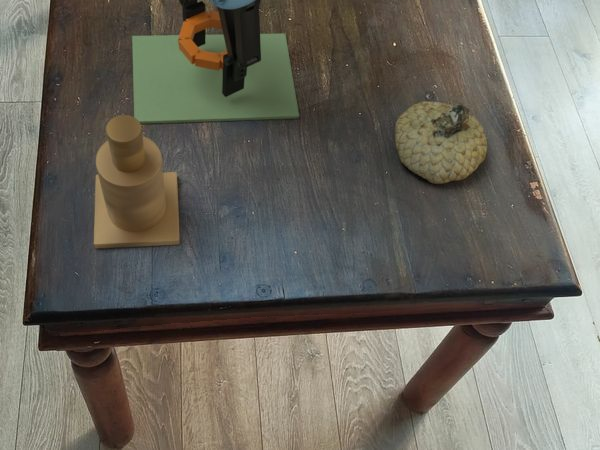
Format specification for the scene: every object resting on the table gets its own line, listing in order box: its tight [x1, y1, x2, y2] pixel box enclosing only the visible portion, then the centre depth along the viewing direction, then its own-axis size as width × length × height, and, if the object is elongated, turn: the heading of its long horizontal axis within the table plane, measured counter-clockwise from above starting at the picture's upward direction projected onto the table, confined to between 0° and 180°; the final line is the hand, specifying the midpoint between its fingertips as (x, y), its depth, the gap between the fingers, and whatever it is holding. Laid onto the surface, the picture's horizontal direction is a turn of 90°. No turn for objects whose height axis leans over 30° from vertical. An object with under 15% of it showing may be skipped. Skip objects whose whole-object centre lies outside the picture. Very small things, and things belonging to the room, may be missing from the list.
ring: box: [178, 10, 228, 71], centre depth 84 cm, size 8×8×1 cm
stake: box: [93, 114, 181, 249], centre depth 72 cm, size 9×9×15 cm
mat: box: [131, 33, 300, 125], centre depth 89 cm, size 20×14×1 cm
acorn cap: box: [394, 100, 488, 185], centre depth 86 cm, size 10×11×10 cm
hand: (213, 67), depth 88 cm, fingers closed on ring, 8 cm apart
